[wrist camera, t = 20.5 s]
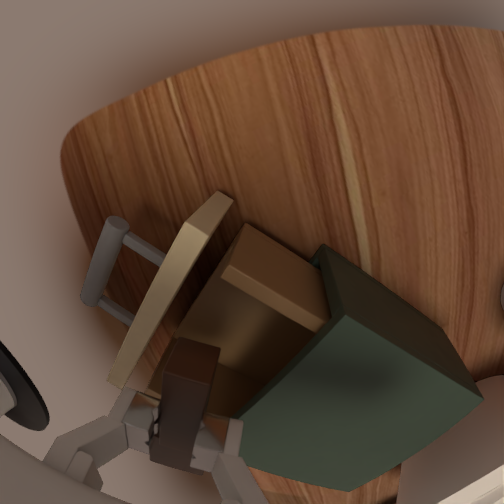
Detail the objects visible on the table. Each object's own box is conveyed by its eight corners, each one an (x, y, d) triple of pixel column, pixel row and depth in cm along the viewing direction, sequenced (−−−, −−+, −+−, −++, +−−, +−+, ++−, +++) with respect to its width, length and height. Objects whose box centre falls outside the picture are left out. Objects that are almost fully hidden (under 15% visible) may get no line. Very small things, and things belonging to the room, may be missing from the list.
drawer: (100, 295, 23) (54, 344, 17) (161, 156, 18) (105, 171, 12) (273, 394, 25) (268, 458, 19) (373, 291, 20) (402, 354, 14)
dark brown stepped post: (163, 330, 11) (144, 365, 9) (237, 351, 11) (229, 390, 9) (157, 438, 14) (147, 466, 12) (207, 452, 14) (200, 482, 12)
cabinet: (222, 367, 25) (201, 448, 17) (323, 243, 20) (345, 314, 12) (340, 420, 27) (348, 492, 19) (442, 329, 22) (484, 399, 14)
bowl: (561, 351, 22) (603, 408, 11) (471, 462, 31) (489, 516, 20) (441, 346, 23) (494, 450, 12) (346, 476, 32) (351, 550, 21)
